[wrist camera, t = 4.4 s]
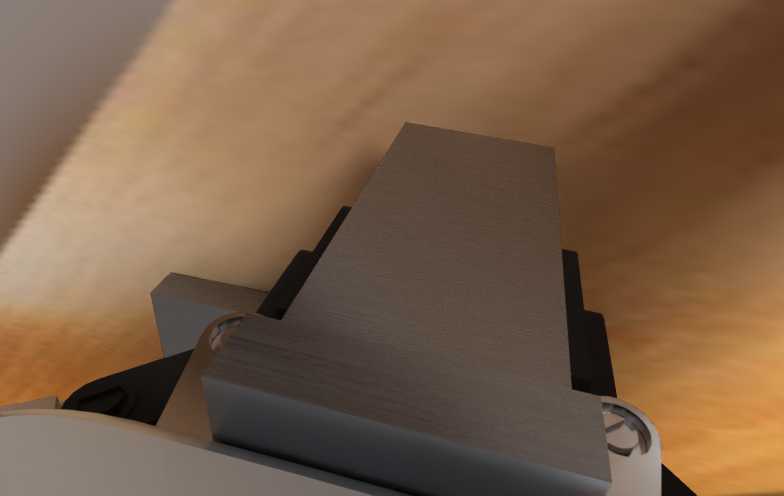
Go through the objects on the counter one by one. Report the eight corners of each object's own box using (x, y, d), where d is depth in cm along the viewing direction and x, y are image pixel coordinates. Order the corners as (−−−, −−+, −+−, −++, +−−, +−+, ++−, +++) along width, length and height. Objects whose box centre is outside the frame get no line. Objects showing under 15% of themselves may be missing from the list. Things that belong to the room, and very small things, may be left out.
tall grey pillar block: (409, 89, 13) (201, 376, 5) (563, 114, 13) (612, 482, 5) (387, 289, 17) (249, 638, 9) (506, 315, 17) (475, 714, 8)
